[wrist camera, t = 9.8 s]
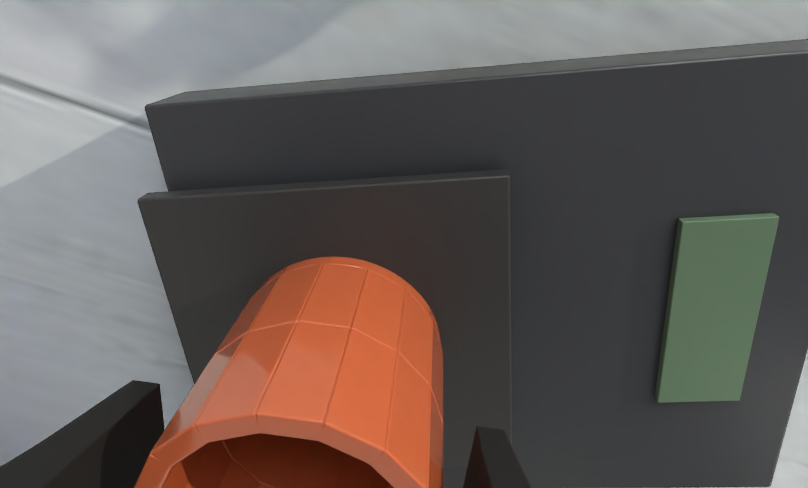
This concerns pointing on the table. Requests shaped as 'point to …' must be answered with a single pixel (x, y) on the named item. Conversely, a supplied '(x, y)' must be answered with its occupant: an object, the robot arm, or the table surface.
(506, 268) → the pan
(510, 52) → the table surface
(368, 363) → the orange faceted tumbler
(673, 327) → the scale housing
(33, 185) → the table surface
